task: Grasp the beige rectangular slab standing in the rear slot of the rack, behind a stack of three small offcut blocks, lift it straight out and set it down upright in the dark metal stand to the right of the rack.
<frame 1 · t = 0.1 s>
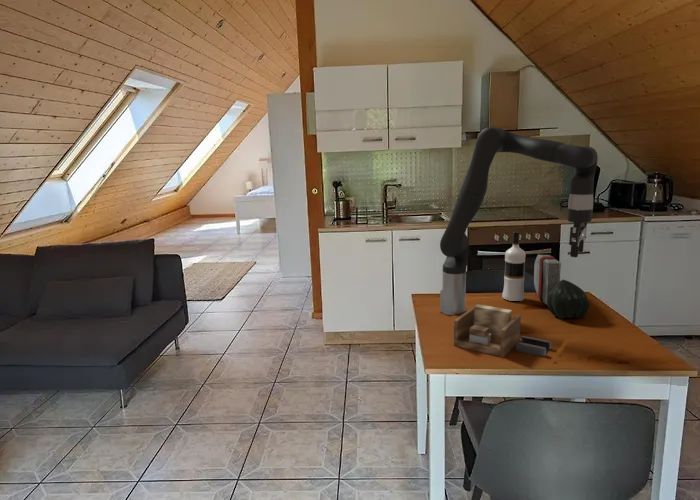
hand: (576, 254, 166), 29 cm above the table, fingers open, 8 cm apart
offcut 2: (480, 340, 161), point 3 cm above the table, touching offcut 1, offcut 3
offcut 3: (479, 334, 161), point 5 cm above the table, touching offcut 2
squash: (566, 316, 190), on the table
stand: (533, 352, 159), on the table
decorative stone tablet: (544, 298, 213), on the table
rack: (486, 345, 165), on the table
offcut 1: (479, 346, 162), point 1 cm above the table, touching offcut 2, rack
vodka: (513, 299, 212), on the table
beige rectangular slab: (491, 338, 168), point 1 cm above the table, touching rack
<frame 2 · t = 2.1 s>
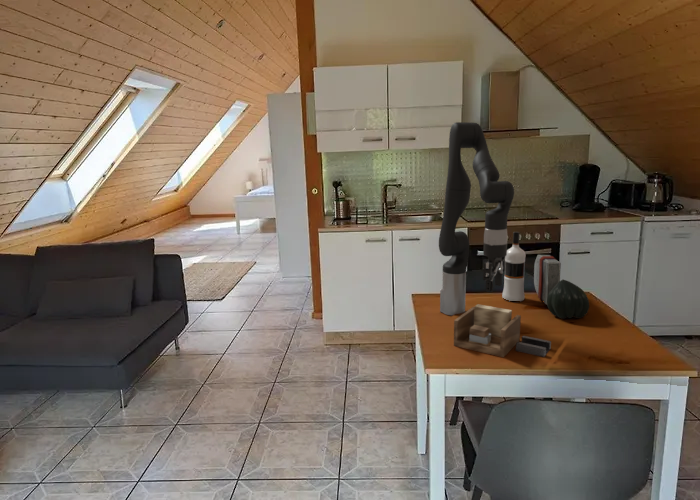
hand: (493, 288, 164), 19 cm above the table, fingers open, 8 cm apart
nothing on the table moved.
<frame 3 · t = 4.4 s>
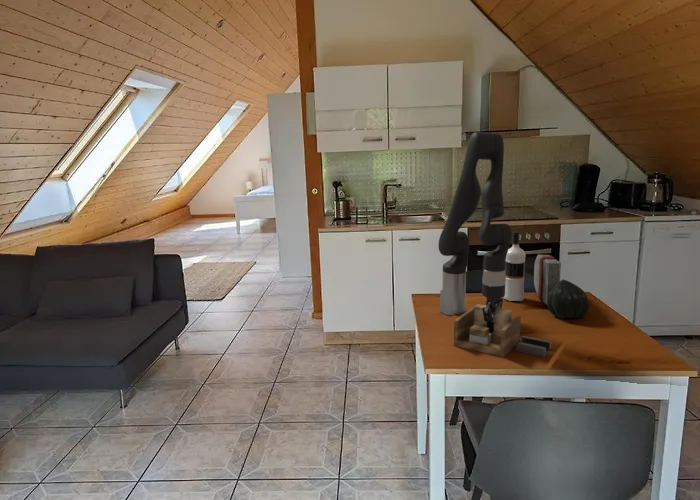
hand: (492, 329, 168), 4 cm above the table, fingers closed on beige rectangular slab, 3 cm apart
beige rectangular slab: (491, 338, 168), point 1 cm above the table, touching gripper, rack
everything else where it was.
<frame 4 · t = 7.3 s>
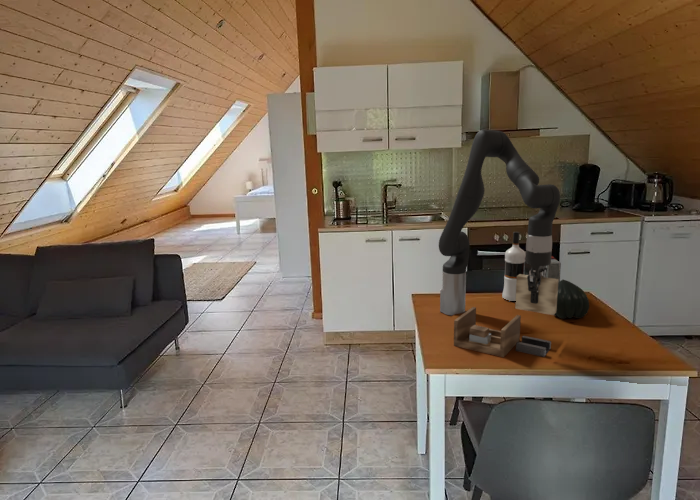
hand: (535, 301, 155), 18 cm above the table, fingers closed on beige rectangular slab, 3 cm apart
beige rectangular slab: (535, 310, 156), point 14 cm above the table, touching gripper
everything else where it was.
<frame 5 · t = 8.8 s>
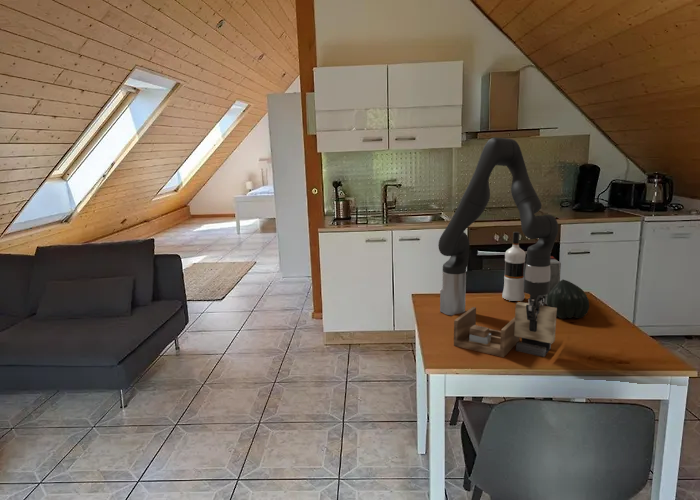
hand: (534, 329, 157), 8 cm above the table, fingers closed on beige rectangular slab, 3 cm apart
beige rectangular slab: (534, 338, 158), point 5 cm above the table, touching gripper
everything else where it was.
when the fingers open (6 cm above the table, at t = 10.0 s): beige rectangular slab drops 1 cm, resting on stand.
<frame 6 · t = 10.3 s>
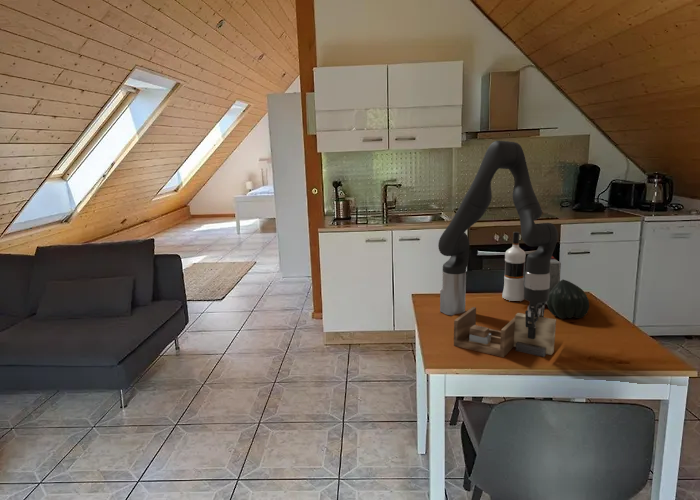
hand: (534, 335, 157), 6 cm above the table, fingers open, 5 cm apart
beige rectangular slab: (533, 349, 159), point 1 cm above the table, touching stand
everything else where it was.
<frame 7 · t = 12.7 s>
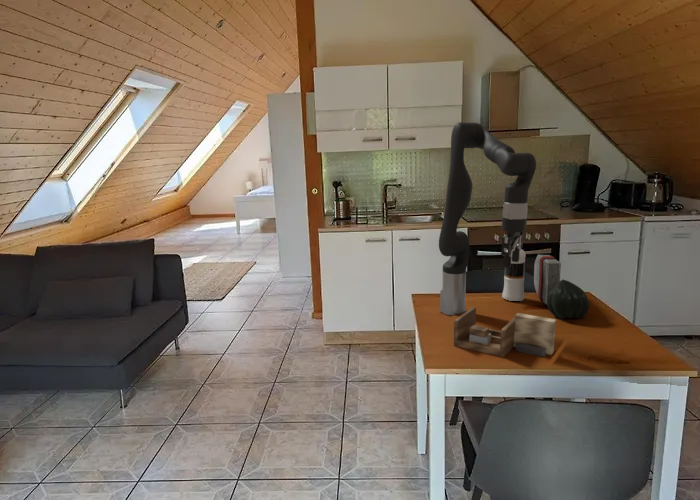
hand: (511, 264, 160), 28 cm above the table, fingers open, 8 cm apart
nothing on the table moved.
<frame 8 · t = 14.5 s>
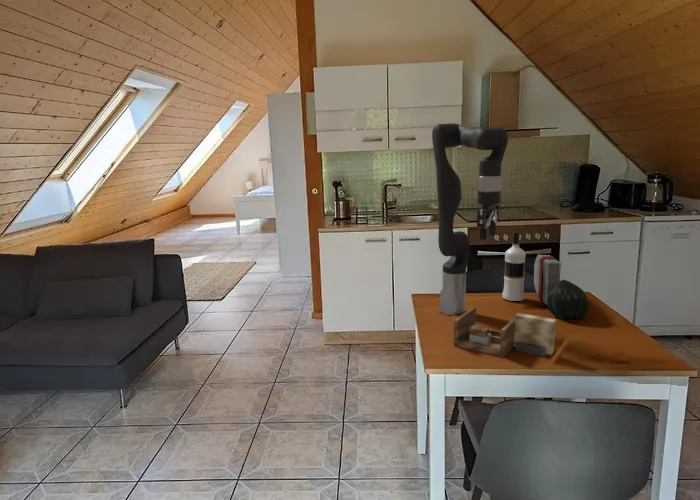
hand: (487, 237, 165), 36 cm above the table, fingers open, 8 cm apart
nothing on the table moved.
at the end: beige rectangular slab 0.2 cm off-centre on the stand, point 1.0 cm above the stand's base; beige rectangular slab tilted 0°; the gripper is holding nothing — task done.
